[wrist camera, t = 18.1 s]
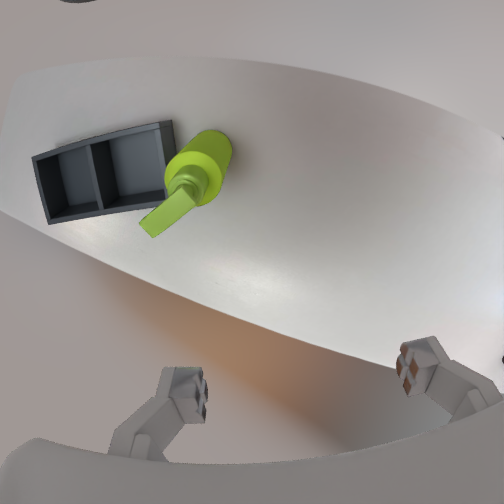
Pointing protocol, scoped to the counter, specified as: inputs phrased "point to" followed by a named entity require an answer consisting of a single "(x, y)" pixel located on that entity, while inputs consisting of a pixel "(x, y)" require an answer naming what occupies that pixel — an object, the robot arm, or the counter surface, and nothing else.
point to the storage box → (106, 173)
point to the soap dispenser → (191, 179)
